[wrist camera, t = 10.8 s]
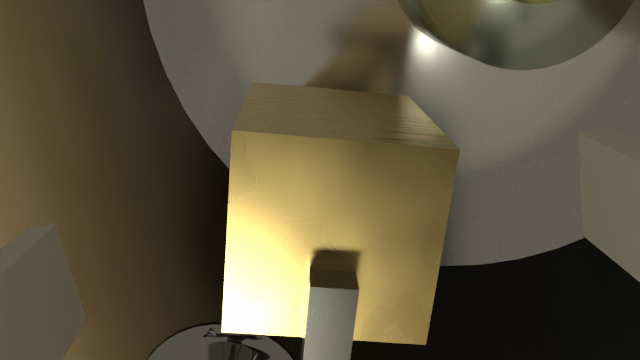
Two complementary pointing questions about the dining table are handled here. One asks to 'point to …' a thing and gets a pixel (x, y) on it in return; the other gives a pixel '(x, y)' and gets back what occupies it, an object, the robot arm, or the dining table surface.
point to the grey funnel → (218, 346)
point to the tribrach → (434, 90)
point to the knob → (335, 218)
